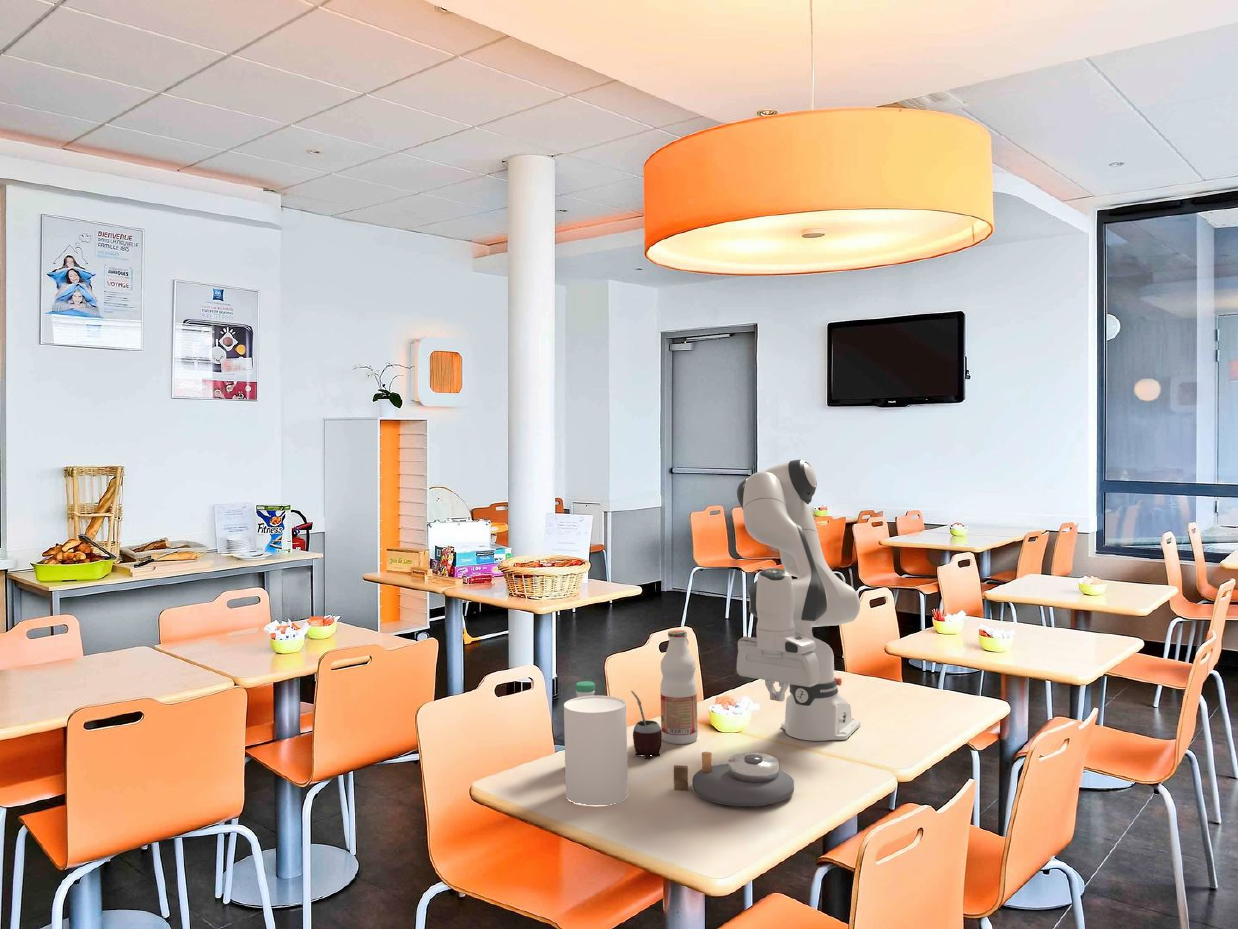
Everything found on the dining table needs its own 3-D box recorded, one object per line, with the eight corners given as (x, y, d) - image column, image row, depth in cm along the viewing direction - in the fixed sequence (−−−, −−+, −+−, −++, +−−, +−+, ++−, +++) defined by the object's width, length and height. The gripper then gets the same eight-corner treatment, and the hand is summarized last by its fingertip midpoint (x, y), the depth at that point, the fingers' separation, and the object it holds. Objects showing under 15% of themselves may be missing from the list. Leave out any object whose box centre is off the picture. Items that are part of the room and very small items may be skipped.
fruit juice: (678, 747, 233) (676, 636, 233) (653, 739, 240) (651, 631, 240) (705, 739, 239) (703, 631, 238) (680, 731, 246) (678, 626, 246)
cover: (746, 762, 213) (745, 746, 213) (788, 773, 206) (787, 756, 206) (719, 776, 205) (718, 759, 205) (761, 787, 198) (761, 769, 198)
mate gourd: (660, 761, 223) (659, 699, 223) (628, 760, 224) (626, 698, 224) (663, 751, 231) (662, 691, 230) (632, 750, 232) (631, 690, 232)
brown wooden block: (688, 788, 205) (687, 765, 205) (687, 790, 203) (687, 768, 203) (674, 787, 205) (674, 765, 205) (674, 790, 204) (673, 767, 204)
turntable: (728, 763, 218) (728, 739, 218) (812, 783, 203) (812, 758, 203) (672, 790, 201) (671, 765, 201) (758, 814, 187) (758, 787, 187)
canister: (639, 790, 204) (637, 700, 204) (607, 811, 193) (605, 715, 192) (587, 780, 211) (585, 693, 211) (553, 800, 199) (551, 707, 199)
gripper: (730, 637, 217) (731, 696, 218) (808, 647, 204) (809, 710, 204) (745, 633, 222) (746, 690, 222) (822, 643, 209) (823, 704, 209)
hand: (777, 700), depth 213 cm, fingers closed
